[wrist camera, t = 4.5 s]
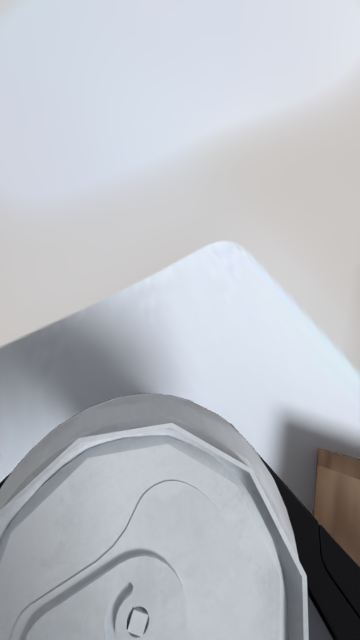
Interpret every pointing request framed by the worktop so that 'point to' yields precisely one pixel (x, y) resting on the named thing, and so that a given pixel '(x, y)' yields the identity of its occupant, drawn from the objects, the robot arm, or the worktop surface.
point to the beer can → (147, 532)
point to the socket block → (339, 499)
